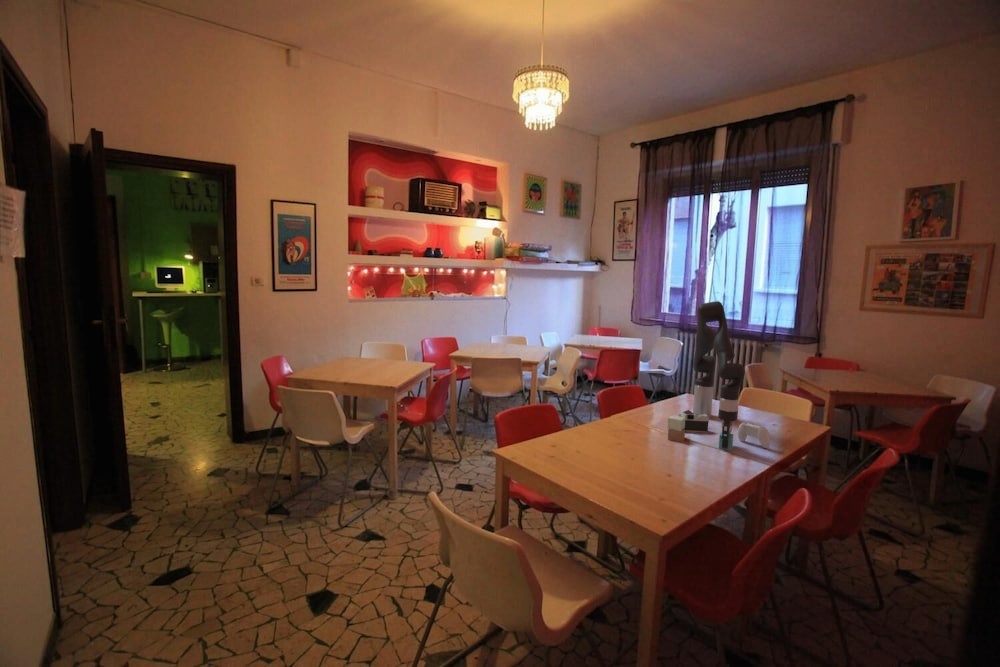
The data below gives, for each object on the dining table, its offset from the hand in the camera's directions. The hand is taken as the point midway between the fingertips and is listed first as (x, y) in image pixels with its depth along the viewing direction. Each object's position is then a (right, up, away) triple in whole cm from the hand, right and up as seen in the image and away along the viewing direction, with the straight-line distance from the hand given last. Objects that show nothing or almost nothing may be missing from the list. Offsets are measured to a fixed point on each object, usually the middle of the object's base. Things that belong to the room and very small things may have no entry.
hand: (725, 445), depth 207 cm
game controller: (+14, -1, +4) cm, 15 cm away
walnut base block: (-17, 0, +12) cm, 21 cm away
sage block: (-18, +5, +11) cm, 21 cm away
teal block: (0, -1, 0) cm, 1 cm away
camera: (-5, +1, +26) cm, 27 cm away
